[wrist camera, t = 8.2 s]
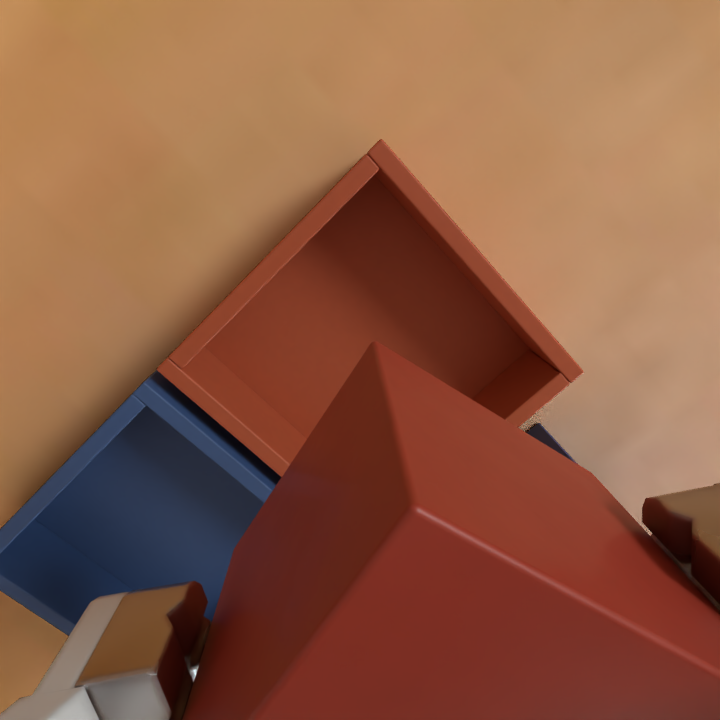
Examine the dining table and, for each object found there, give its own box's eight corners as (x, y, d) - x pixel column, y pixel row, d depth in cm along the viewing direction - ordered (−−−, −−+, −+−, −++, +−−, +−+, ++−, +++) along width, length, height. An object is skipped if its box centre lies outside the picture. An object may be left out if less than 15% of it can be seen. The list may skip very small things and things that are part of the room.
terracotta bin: (364, 501, 22) (368, 553, 19) (185, 341, 20) (155, 370, 17) (545, 345, 21) (585, 372, 17) (373, 149, 18) (381, 137, 15)
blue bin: (201, 641, 24) (180, 710, 21) (20, 511, 22) (-37, 567, 19) (354, 509, 23) (357, 562, 19) (175, 352, 20) (143, 382, 17)
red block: (441, 650, 10) (521, 1003, 6) (232, 548, 9) (134, 873, 5) (592, 472, 9) (838, 738, 5) (372, 338, 8) (413, 504, 4)
